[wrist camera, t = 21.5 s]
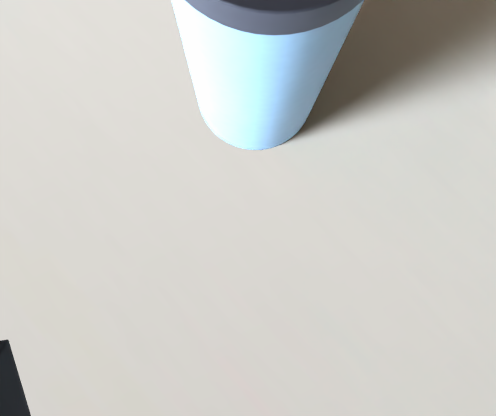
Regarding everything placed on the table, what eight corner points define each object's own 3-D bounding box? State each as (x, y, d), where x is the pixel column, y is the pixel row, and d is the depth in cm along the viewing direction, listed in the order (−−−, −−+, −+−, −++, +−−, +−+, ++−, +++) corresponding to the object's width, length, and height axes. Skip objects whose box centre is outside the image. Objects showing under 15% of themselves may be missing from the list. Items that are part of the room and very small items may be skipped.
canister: (180, 134, 26) (104, -29, 11) (213, 23, 27) (181, -269, 12) (298, 166, 26) (376, 44, 11) (327, 53, 27) (438, -201, 12)
